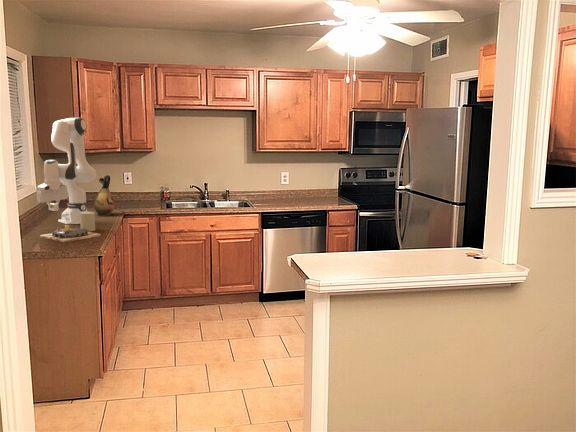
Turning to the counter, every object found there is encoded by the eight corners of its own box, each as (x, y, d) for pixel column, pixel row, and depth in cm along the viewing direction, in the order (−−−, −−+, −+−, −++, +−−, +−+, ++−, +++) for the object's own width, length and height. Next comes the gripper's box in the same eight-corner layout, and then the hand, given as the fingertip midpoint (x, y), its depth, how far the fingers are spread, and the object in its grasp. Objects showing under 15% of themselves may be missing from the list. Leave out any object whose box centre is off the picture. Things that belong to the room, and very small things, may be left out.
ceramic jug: (108, 217, 401) (107, 176, 396) (90, 215, 404) (88, 175, 399) (120, 213, 417) (119, 174, 412) (102, 212, 420) (100, 174, 415)
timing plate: (39, 236, 328) (39, 230, 327) (74, 230, 349) (74, 224, 348) (65, 242, 315) (65, 235, 314) (100, 235, 336) (100, 229, 335)
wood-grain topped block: (48, 209, 342) (48, 203, 341) (52, 209, 345) (52, 202, 344) (54, 211, 339) (54, 204, 338) (58, 210, 341) (58, 204, 341)
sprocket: (47, 237, 321) (47, 226, 319) (57, 230, 340) (57, 220, 339) (83, 237, 323) (83, 226, 322) (91, 231, 343) (90, 220, 342)
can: (97, 230, 352) (97, 212, 350) (84, 232, 346) (83, 213, 344) (91, 228, 359) (91, 210, 357) (78, 229, 352) (77, 211, 350)
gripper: (63, 183, 349) (64, 204, 352) (34, 187, 332) (35, 209, 335) (69, 184, 346) (70, 206, 349) (40, 188, 329) (42, 210, 331)
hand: (53, 207), depth 342 cm, fingers closed on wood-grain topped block, 3 cm apart
